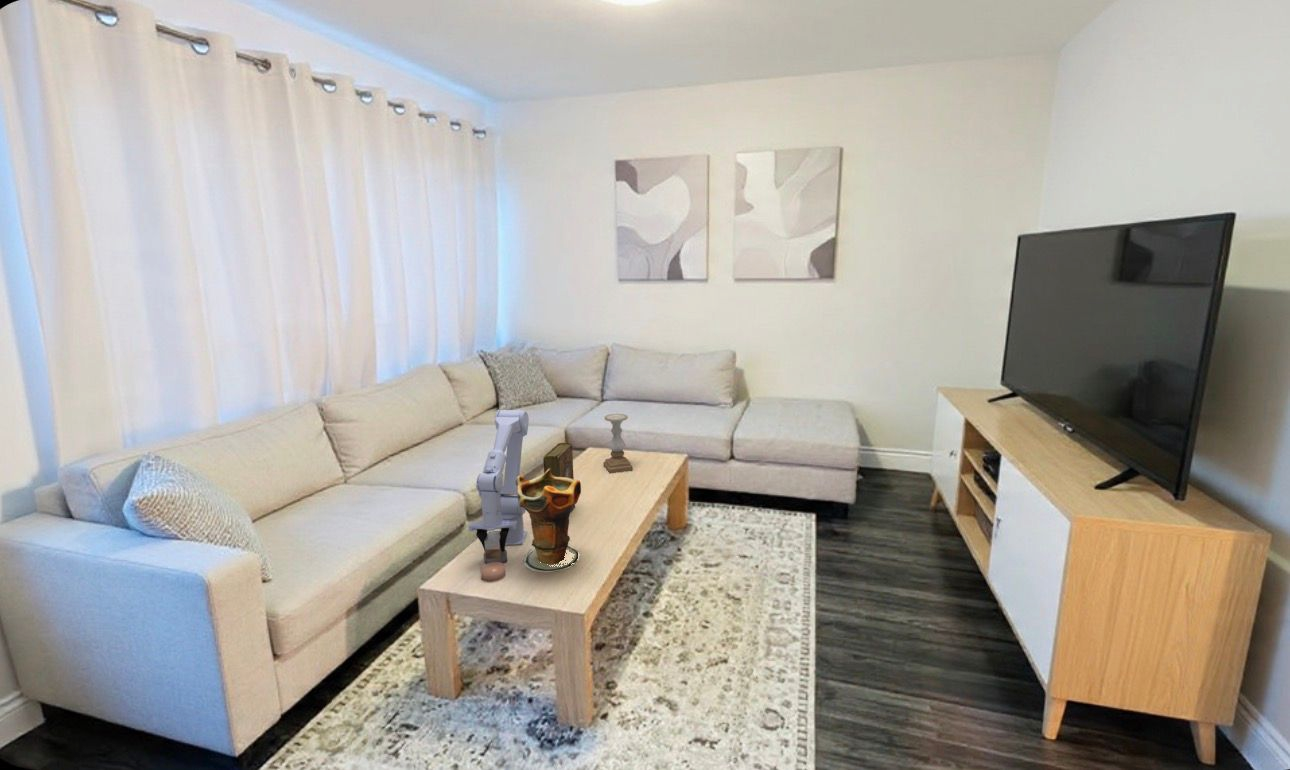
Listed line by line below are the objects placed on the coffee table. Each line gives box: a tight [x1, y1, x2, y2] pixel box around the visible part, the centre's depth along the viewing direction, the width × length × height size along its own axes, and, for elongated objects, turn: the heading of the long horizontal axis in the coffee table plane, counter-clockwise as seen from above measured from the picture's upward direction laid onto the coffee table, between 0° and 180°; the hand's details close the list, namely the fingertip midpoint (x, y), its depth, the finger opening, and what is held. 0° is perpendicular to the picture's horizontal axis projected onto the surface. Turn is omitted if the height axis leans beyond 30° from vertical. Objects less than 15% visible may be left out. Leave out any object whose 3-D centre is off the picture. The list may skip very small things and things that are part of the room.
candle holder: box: [603, 413, 633, 474], centre depth 267 cm, size 11×11×24 cm
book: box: [543, 442, 576, 513], centre depth 219 cm, size 16×6×25 cm, turn 168°
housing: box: [484, 530, 503, 559], centre depth 187 cm, size 4×6×6 cm
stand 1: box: [483, 549, 508, 565], centre depth 188 cm, size 7×7×2 cm
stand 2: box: [480, 562, 507, 583], centre depth 179 cm, size 7×7×2 cm
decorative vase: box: [515, 468, 582, 574], centre depth 187 cm, size 21×23×28 cm
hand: (495, 550), depth 188 cm, fingers closed on housing, 4 cm apart
